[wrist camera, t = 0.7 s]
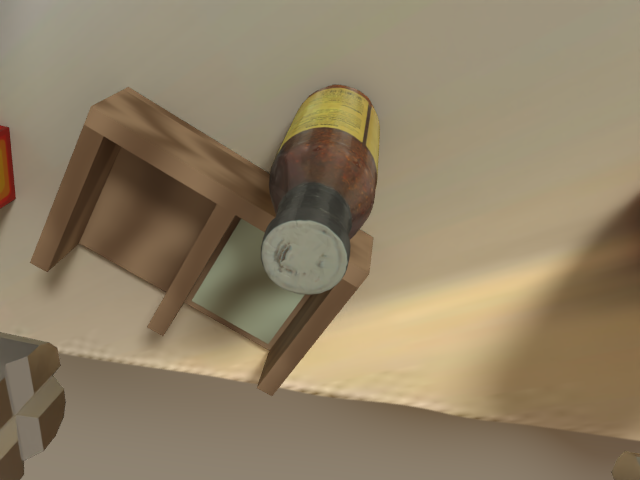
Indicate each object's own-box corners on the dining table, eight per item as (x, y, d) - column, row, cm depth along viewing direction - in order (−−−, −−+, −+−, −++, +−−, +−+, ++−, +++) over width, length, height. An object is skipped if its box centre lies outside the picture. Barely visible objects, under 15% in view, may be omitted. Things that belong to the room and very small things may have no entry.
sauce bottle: (282, 115, 43) (195, 235, 25) (346, 63, 40) (300, 156, 23) (335, 181, 44) (289, 334, 27) (400, 134, 42) (395, 271, 25)
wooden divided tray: (68, 230, 50) (30, 262, 45) (128, 87, 43) (91, 106, 38) (284, 352, 53) (272, 396, 48) (373, 237, 46) (369, 274, 41)
